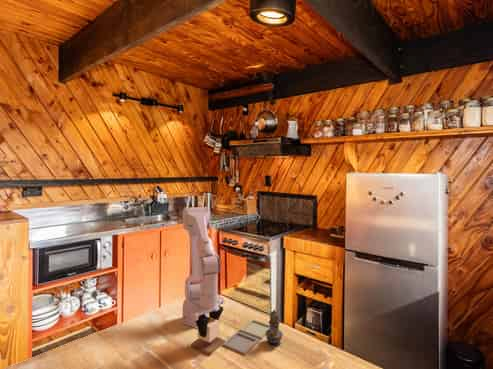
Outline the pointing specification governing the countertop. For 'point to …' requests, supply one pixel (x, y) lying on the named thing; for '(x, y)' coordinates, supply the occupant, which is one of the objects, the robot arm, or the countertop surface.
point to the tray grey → (241, 342)
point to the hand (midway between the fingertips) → (208, 332)
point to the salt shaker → (274, 330)
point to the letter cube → (211, 330)
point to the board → (207, 345)
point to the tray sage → (255, 328)
